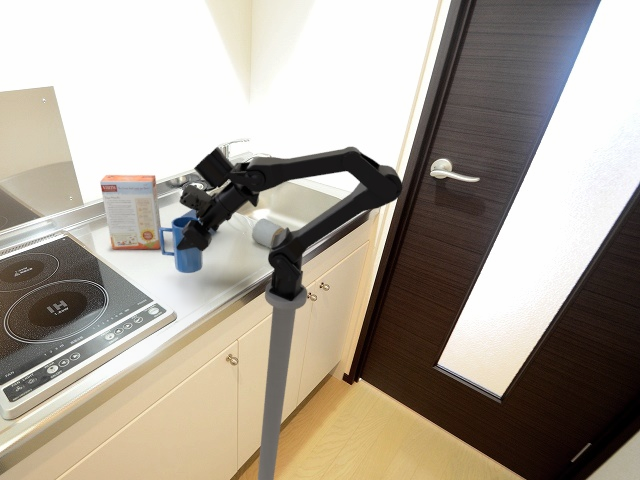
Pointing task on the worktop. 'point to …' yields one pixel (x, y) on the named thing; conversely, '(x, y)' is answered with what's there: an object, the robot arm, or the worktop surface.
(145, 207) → the cracker box
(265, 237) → the grey cylinder
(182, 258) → the blue mug
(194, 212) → the slate-blue box
